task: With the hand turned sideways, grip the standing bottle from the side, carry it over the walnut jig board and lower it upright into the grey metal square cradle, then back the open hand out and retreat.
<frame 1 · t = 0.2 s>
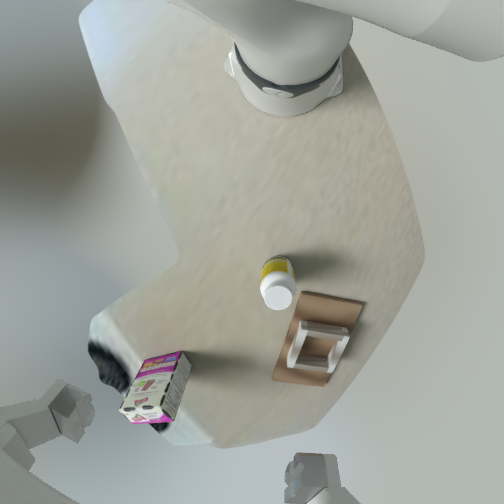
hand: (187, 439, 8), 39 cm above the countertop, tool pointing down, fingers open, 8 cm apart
supplement bottle: (277, 269, 48), on the countertop
candy bar box: (168, 362, 58), on the countertop
jig board: (314, 344, 53), on the countertop
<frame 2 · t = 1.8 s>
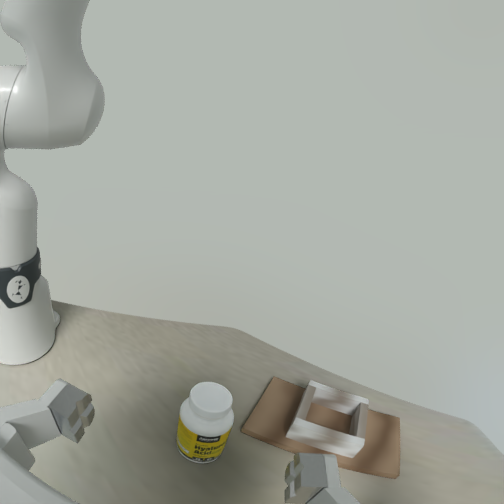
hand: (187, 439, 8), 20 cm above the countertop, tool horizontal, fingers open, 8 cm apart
supplement bottle: (199, 447, 26), on the countertop
jig board: (330, 430, 31), on the countertop
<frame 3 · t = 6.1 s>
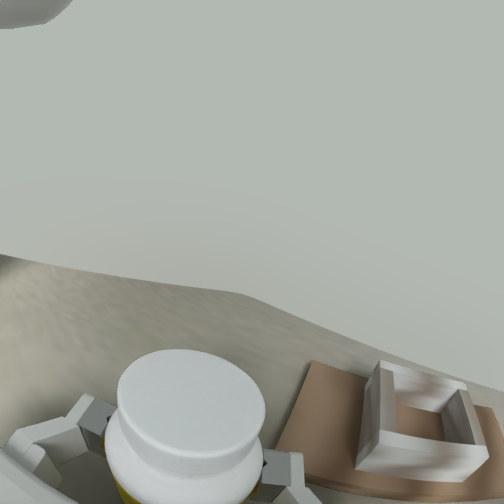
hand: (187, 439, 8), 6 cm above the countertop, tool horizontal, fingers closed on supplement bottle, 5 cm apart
jig board: (415, 443, 15), on the countertop
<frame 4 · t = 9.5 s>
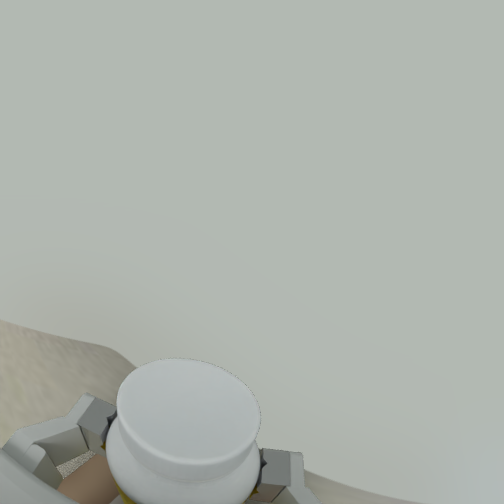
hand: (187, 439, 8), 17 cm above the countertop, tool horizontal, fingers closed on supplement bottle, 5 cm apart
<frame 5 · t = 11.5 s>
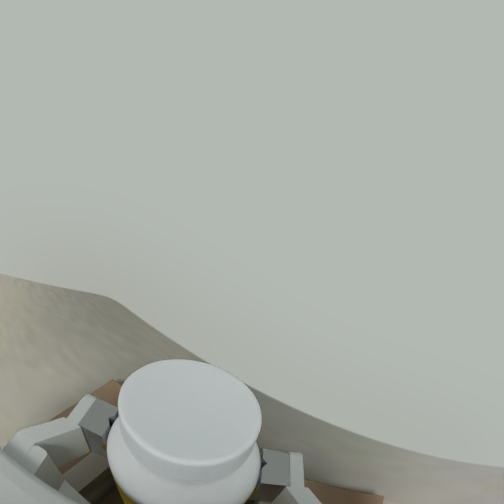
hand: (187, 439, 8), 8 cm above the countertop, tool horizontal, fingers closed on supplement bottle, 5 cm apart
when the fingers open (8 cm above the countertop, at t = 11.8 s): supplement bottle stays where it is, resting on jig board.
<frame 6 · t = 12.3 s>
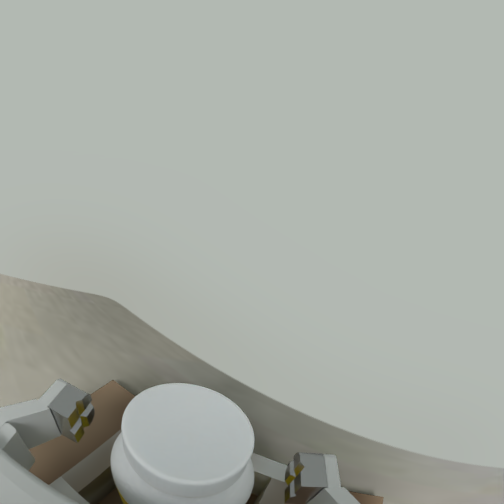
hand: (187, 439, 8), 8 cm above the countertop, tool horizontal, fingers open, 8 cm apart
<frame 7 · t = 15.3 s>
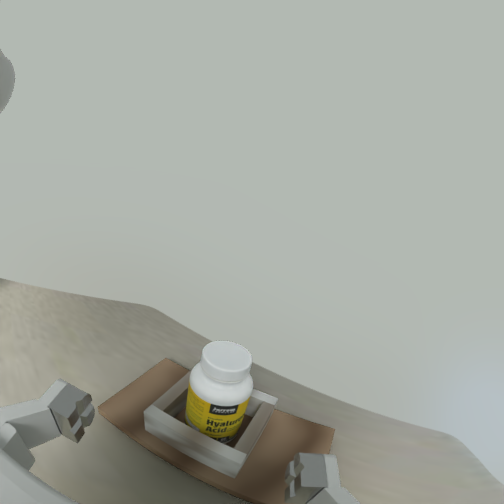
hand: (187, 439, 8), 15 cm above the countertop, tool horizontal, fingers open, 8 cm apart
supplement bottle: (211, 427, 23), point 1 cm above the countertop, touching jig board
jig board: (219, 435, 23), on the countertop
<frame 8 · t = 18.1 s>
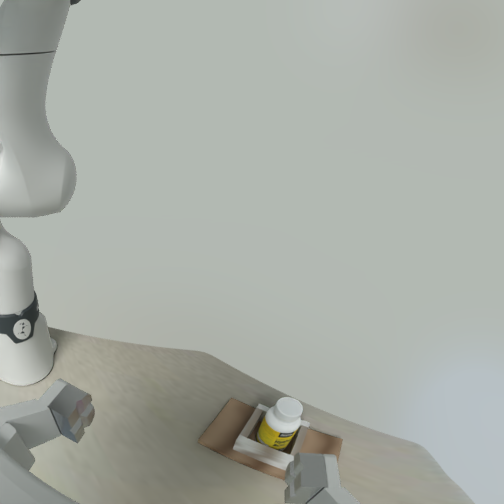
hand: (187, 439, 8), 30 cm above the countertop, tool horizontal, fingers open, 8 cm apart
supplement bottle: (270, 442, 37), point 1 cm above the countertop, touching jig board
jig board: (274, 446, 37), on the countertop
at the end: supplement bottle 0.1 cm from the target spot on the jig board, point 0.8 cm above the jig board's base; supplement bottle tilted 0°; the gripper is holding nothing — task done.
